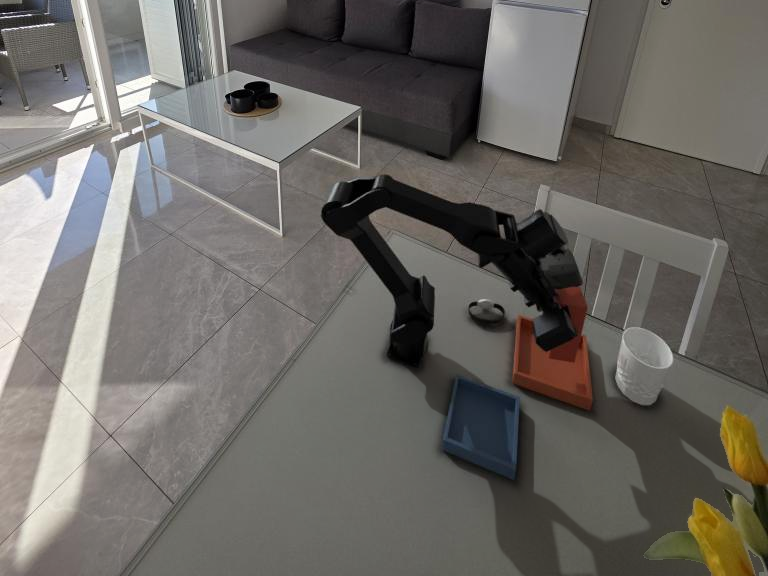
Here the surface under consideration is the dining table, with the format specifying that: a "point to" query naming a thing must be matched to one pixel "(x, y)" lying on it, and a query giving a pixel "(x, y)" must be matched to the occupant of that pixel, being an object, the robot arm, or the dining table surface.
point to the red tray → (551, 369)
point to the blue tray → (483, 426)
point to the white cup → (642, 365)
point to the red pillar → (578, 313)
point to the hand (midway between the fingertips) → (572, 323)
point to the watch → (486, 305)
